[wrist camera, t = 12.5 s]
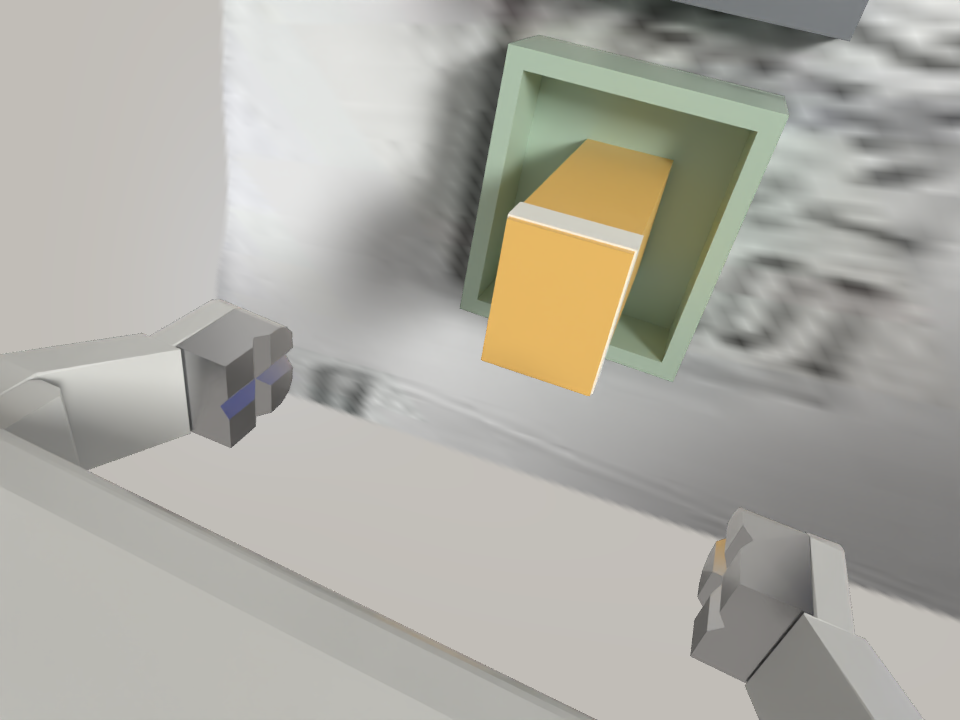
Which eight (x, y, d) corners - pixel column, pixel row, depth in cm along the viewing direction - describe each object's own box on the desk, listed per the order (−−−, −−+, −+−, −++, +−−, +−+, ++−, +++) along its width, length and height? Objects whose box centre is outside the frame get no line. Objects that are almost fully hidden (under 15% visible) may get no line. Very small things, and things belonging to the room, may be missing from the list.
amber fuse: (675, 159, 21) (636, 253, 14) (639, 268, 24) (590, 398, 16) (586, 136, 22) (505, 216, 15) (560, 245, 24) (478, 360, 17)
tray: (784, 96, 20) (788, 115, 17) (681, 338, 25) (672, 382, 23) (539, 35, 22) (508, 43, 19) (489, 274, 27) (459, 308, 24)
